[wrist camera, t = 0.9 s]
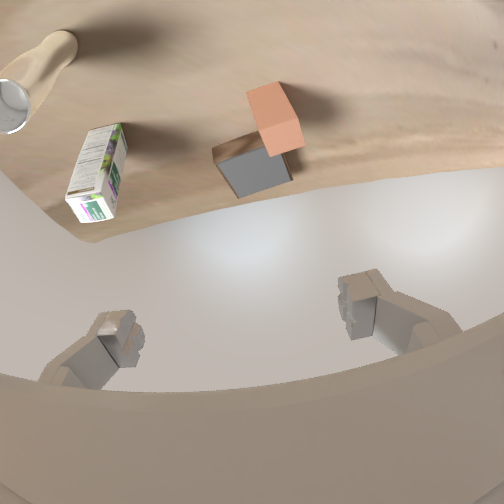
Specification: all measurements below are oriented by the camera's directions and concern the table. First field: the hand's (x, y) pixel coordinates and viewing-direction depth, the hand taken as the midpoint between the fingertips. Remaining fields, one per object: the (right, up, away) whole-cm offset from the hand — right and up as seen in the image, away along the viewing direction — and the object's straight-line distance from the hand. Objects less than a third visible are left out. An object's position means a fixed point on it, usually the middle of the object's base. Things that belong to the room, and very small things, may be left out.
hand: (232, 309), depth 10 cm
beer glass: (-24, +28, +11) cm, 39 cm away
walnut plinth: (+1, +19, +38) cm, 42 cm away
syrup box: (-22, +20, +27) cm, 41 cm away
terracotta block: (+3, +25, +27) cm, 37 cm away
